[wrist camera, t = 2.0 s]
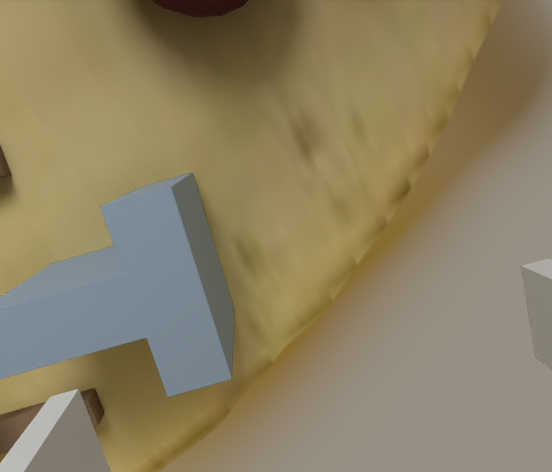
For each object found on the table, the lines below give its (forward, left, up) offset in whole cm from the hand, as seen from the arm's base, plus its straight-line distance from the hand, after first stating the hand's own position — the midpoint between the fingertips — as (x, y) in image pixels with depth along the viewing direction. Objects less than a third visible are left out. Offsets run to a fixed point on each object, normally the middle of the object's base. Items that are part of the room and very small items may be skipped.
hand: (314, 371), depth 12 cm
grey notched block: (+11, -3, -27) cm, 29 cm away
